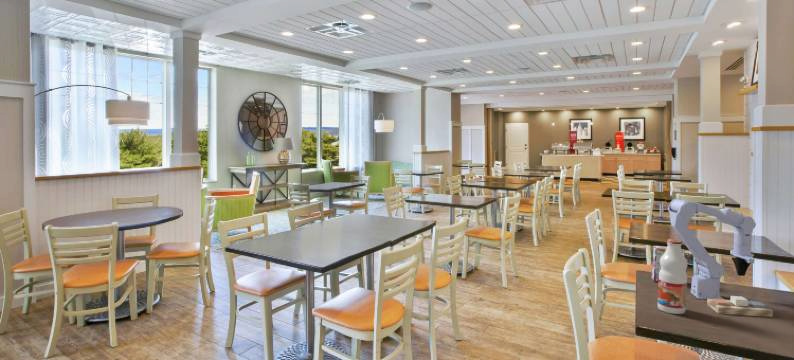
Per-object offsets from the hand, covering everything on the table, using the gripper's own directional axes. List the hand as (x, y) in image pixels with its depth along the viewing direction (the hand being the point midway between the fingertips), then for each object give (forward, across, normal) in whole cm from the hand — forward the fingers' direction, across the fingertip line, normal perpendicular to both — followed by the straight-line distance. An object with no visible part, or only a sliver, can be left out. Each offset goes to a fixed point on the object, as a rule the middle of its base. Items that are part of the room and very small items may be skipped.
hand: (741, 275), depth 183 cm
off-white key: (+7, -17, +8) cm, 20 cm away
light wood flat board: (+9, -17, +8) cm, 21 cm away
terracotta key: (+8, -17, +14) cm, 24 cm away
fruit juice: (+9, -21, +33) cm, 40 cm away
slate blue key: (+8, -17, +2) cm, 19 cm away
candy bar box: (+9, +16, +23) cm, 29 cm away
